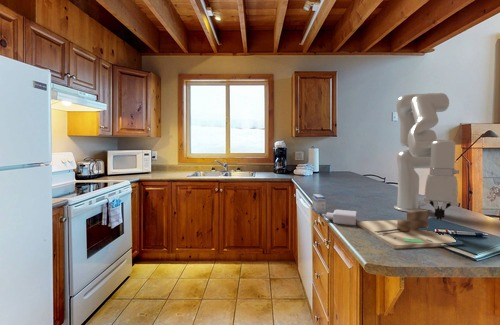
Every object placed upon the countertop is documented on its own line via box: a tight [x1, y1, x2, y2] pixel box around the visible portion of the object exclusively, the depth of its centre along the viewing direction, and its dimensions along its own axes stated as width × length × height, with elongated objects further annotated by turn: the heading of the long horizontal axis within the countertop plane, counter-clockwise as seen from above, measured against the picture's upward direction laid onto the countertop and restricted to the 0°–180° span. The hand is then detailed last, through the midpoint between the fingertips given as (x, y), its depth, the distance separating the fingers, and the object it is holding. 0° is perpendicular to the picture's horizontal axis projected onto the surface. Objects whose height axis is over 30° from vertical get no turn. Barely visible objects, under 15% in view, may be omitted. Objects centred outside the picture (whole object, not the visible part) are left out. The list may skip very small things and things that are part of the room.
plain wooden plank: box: [377, 209, 430, 233], centre depth 101 cm, size 24×4×7 cm, turn 105°
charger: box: [321, 209, 357, 226], centre depth 118 cm, size 5×9×15 cm
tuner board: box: [356, 219, 456, 250], centre depth 101 cm, size 26×26×1 cm
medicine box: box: [311, 193, 327, 215], centre depth 134 cm, size 8×4×9 cm, turn 5°
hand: (439, 218), depth 100 cm, fingers closed
